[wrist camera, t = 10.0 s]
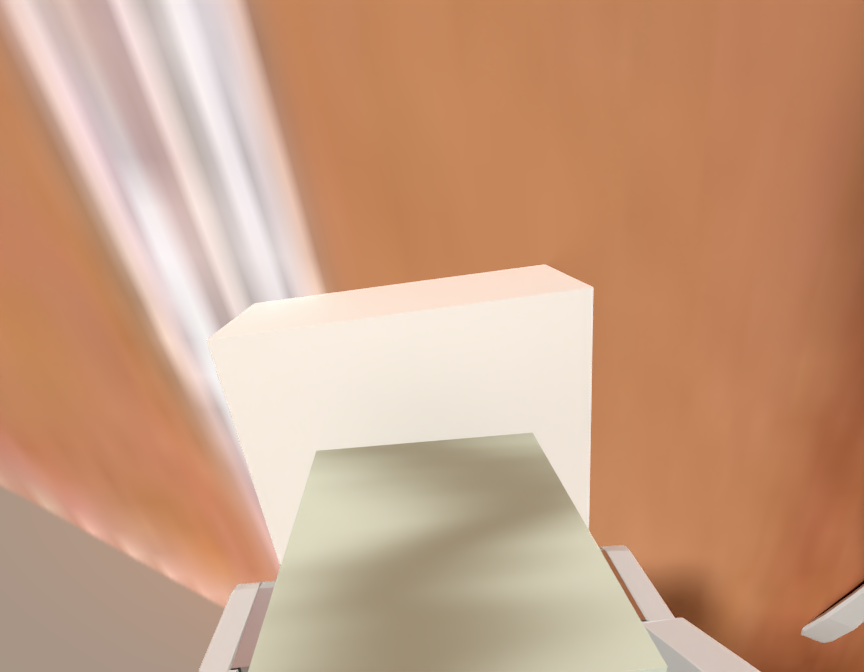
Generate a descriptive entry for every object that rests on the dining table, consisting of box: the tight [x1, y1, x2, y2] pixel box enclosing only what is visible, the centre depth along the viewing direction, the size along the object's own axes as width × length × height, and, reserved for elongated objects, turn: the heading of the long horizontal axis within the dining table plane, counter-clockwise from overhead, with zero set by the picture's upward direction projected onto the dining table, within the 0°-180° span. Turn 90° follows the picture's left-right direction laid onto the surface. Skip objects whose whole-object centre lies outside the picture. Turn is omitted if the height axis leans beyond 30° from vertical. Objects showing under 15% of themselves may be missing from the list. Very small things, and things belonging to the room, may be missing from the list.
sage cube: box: [248, 433, 668, 672], centre depth 8 cm, size 5×5×5 cm
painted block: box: [206, 264, 593, 566], centre depth 14 cm, size 10×10×4 cm
